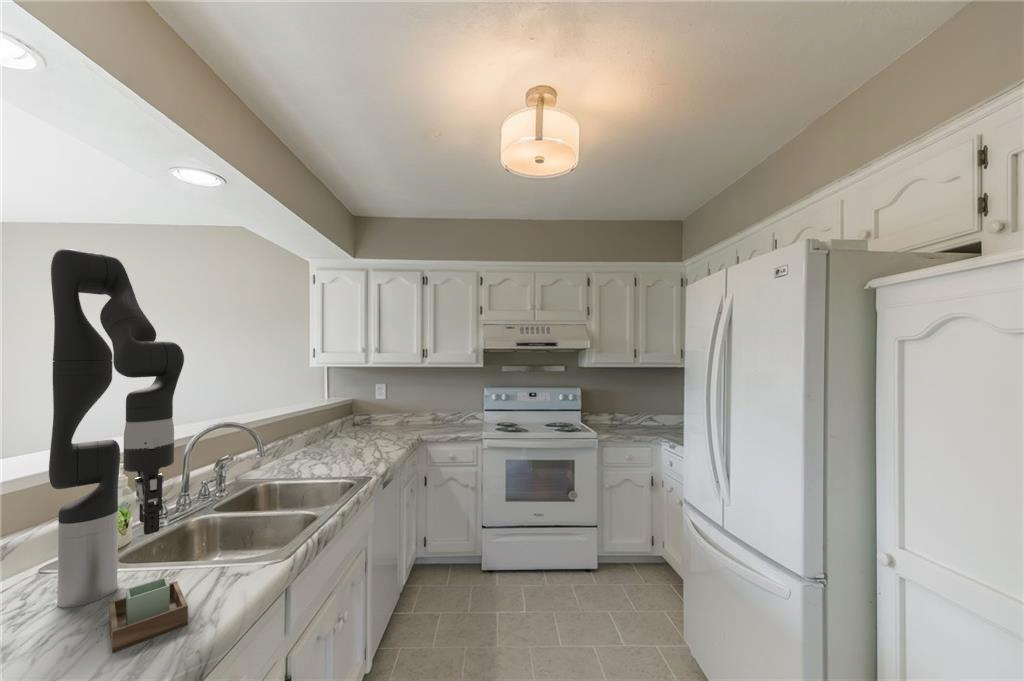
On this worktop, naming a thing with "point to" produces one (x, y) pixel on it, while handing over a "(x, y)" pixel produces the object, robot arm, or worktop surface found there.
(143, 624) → the big crate
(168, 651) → the worktop surface
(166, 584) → the small crate
